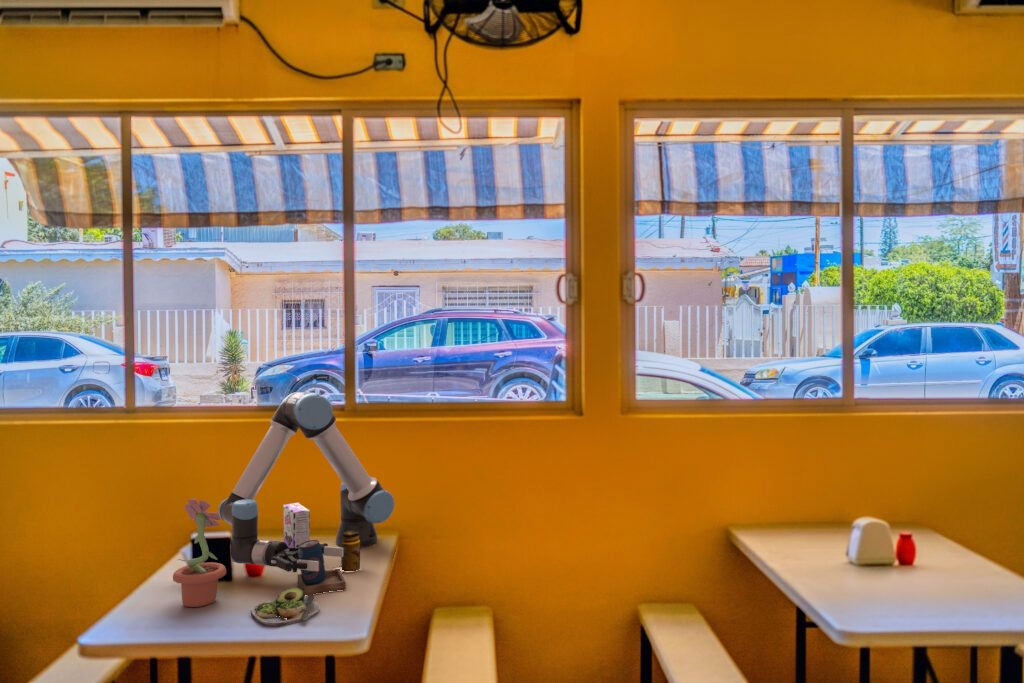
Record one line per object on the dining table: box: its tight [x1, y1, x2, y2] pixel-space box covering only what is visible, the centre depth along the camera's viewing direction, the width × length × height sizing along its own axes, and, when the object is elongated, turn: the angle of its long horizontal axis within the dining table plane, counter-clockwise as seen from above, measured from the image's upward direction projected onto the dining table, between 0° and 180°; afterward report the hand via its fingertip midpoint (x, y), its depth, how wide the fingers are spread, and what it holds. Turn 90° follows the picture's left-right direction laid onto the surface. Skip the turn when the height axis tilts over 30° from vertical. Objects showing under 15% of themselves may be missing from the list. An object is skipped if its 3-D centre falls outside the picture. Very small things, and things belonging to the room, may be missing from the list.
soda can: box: [298, 539, 327, 586], centre depth 198 cm, size 7×7×12 cm
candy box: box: [282, 502, 311, 548], centre depth 233 cm, size 14×6×16 cm, turn 33°
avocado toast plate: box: [250, 587, 321, 627], centre depth 179 cm, size 19×18×5 cm
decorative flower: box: [172, 498, 227, 608], centre depth 188 cm, size 15×14×30 cm
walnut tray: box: [297, 569, 347, 595], centre depth 200 cm, size 13×13×2 cm
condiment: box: [333, 531, 365, 572], centre depth 215 cm, size 7×8×12 cm
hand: (330, 559), depth 199 cm, fingers open, 13 cm apart
